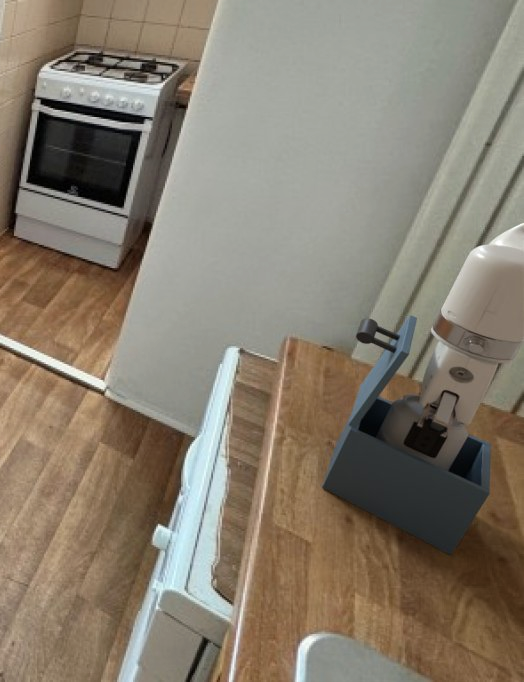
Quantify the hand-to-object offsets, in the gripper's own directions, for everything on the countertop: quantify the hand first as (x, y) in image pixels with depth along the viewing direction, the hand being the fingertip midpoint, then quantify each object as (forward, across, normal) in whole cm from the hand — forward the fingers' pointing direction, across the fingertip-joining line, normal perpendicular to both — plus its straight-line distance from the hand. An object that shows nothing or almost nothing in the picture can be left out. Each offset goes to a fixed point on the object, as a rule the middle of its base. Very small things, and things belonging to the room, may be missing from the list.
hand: (421, 434), depth 86 cm
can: (+7, 0, 0) cm, 7 cm away
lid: (-7, 0, +6) cm, 9 cm away
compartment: (+12, 0, 0) cm, 12 cm away
